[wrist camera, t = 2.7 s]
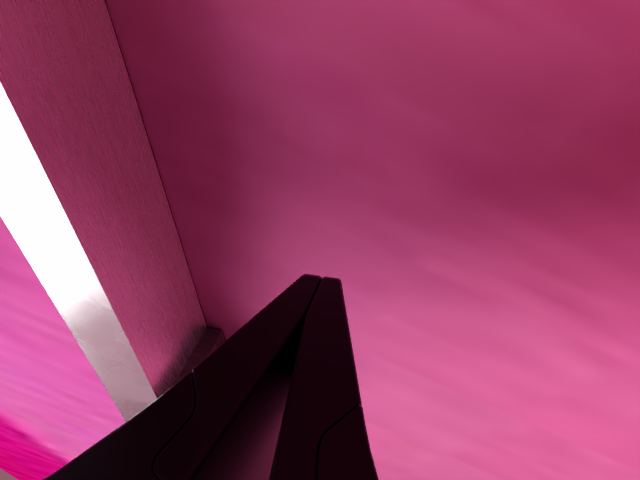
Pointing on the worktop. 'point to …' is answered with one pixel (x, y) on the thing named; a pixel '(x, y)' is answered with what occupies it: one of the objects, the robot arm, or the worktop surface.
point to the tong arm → (94, 200)
